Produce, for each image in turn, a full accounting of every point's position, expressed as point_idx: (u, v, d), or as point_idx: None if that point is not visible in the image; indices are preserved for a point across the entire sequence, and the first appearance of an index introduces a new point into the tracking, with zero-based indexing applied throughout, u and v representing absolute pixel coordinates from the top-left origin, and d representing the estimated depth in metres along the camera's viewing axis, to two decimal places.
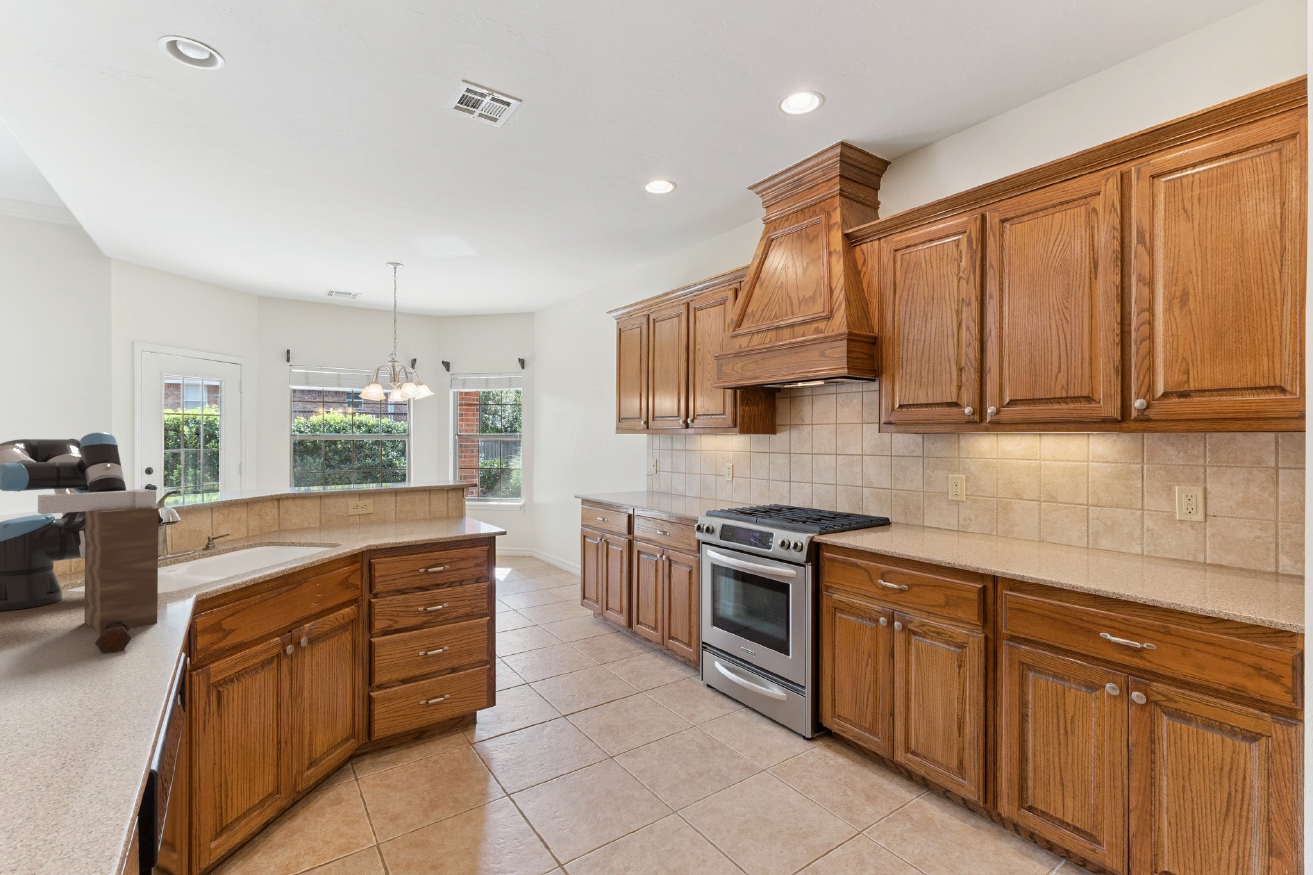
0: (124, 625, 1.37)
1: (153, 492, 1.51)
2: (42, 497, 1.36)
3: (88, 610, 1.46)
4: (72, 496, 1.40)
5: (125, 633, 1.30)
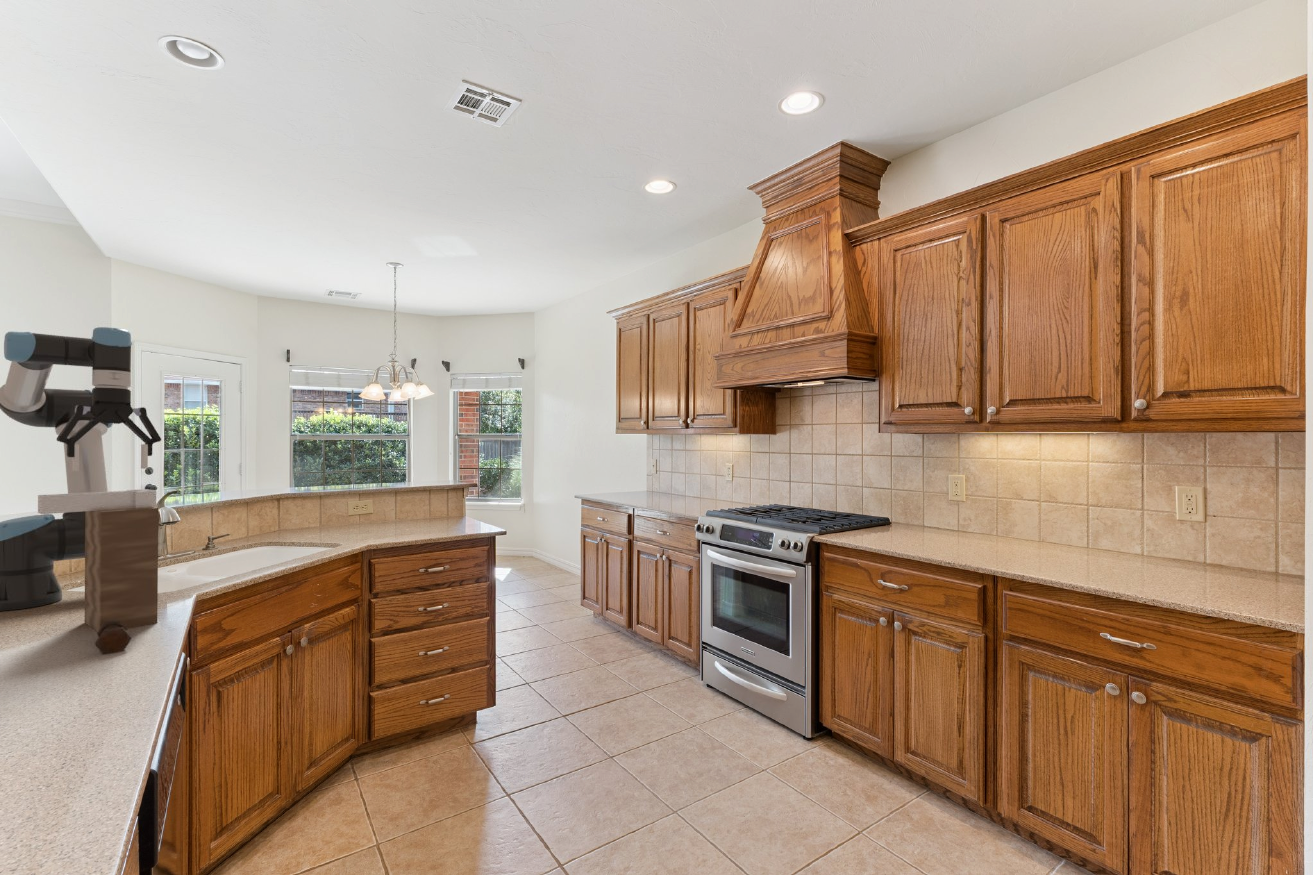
0: (121, 626, 1.36)
1: (153, 492, 1.51)
2: (42, 497, 1.36)
3: (88, 610, 1.46)
4: (72, 496, 1.40)
5: (125, 634, 1.29)
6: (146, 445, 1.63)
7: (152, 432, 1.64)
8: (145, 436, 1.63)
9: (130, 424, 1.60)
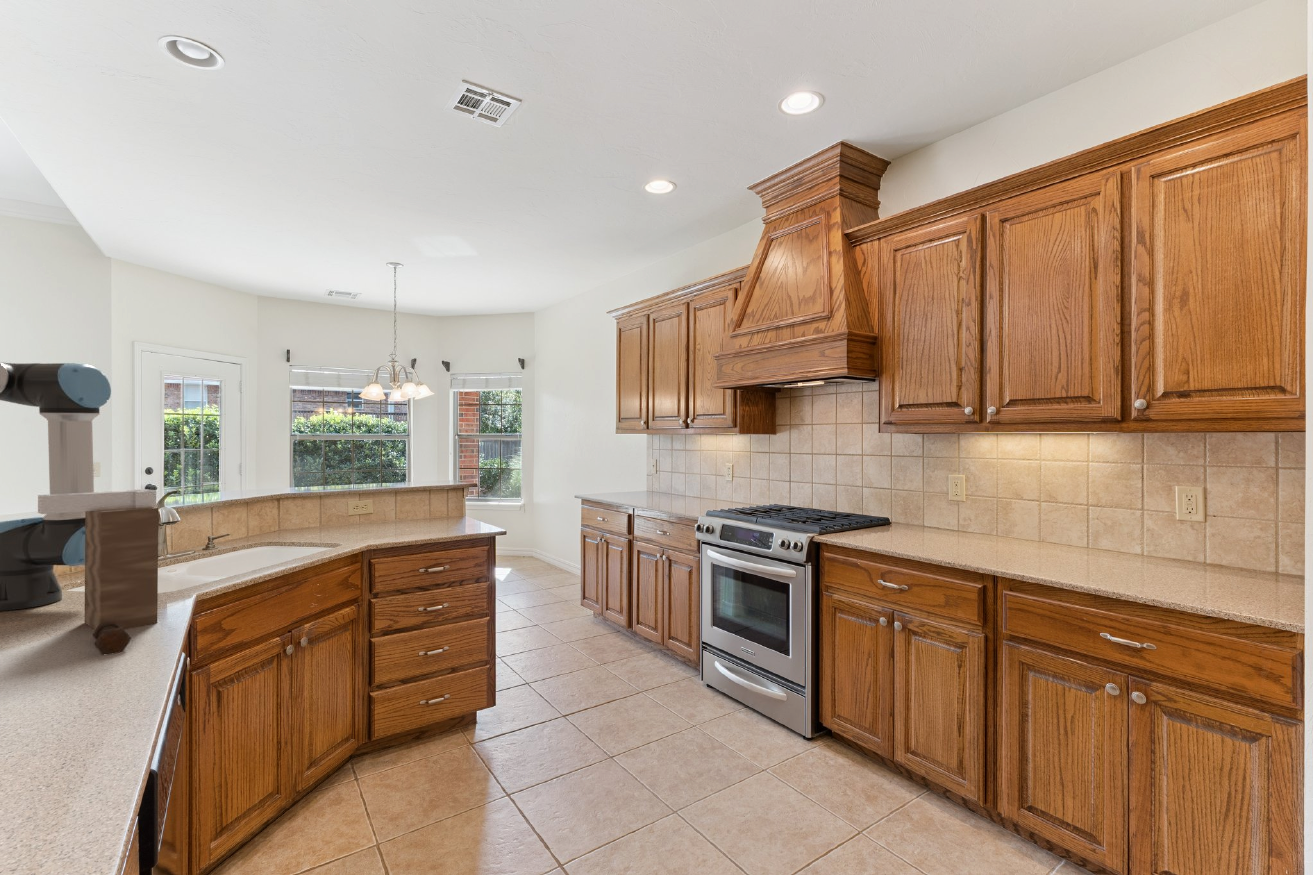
0: (117, 627, 1.36)
1: (153, 492, 1.51)
2: (42, 497, 1.36)
3: (88, 610, 1.46)
4: (72, 496, 1.40)
5: (125, 634, 1.29)
6: None
7: None
8: None
9: None
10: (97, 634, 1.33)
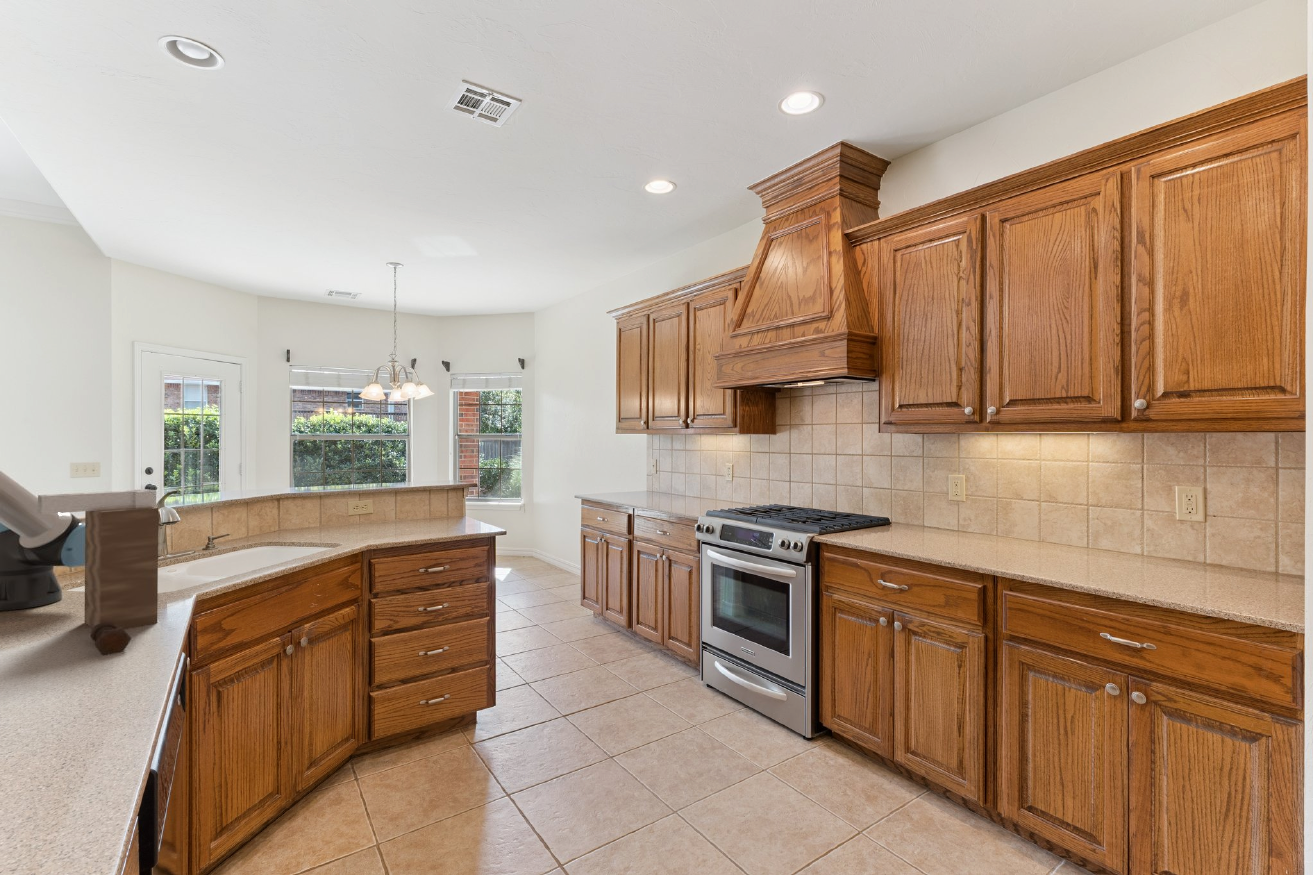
0: (114, 627, 1.35)
1: (153, 492, 1.51)
2: (42, 497, 1.36)
3: (88, 610, 1.46)
4: (72, 496, 1.40)
5: (125, 634, 1.29)
6: None
7: None
8: None
9: None
10: (95, 635, 1.33)
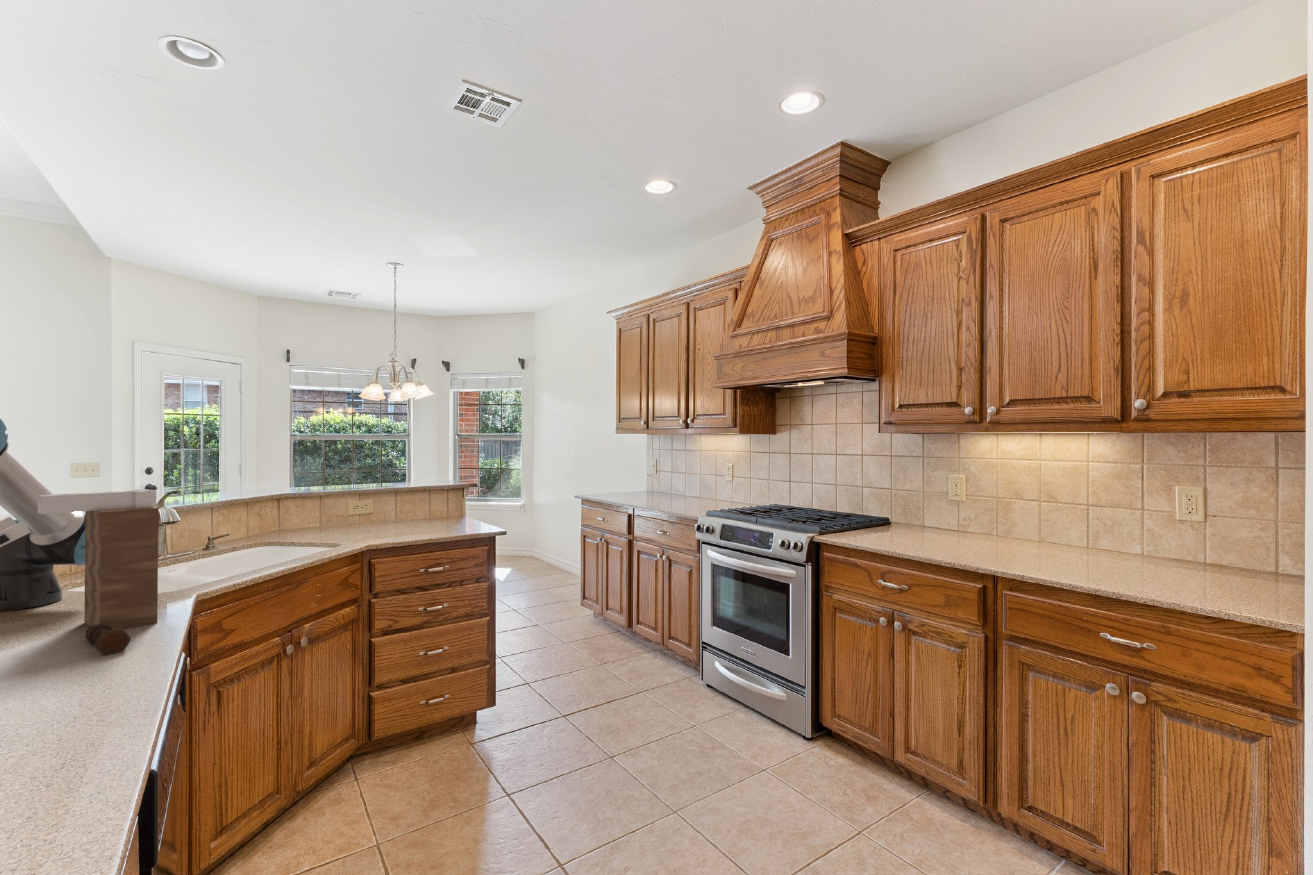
0: (110, 628, 1.34)
1: (153, 492, 1.51)
2: (42, 497, 1.36)
3: (88, 610, 1.46)
4: (72, 496, 1.40)
5: (125, 634, 1.29)
6: None
7: None
8: None
9: None
10: (90, 636, 1.32)
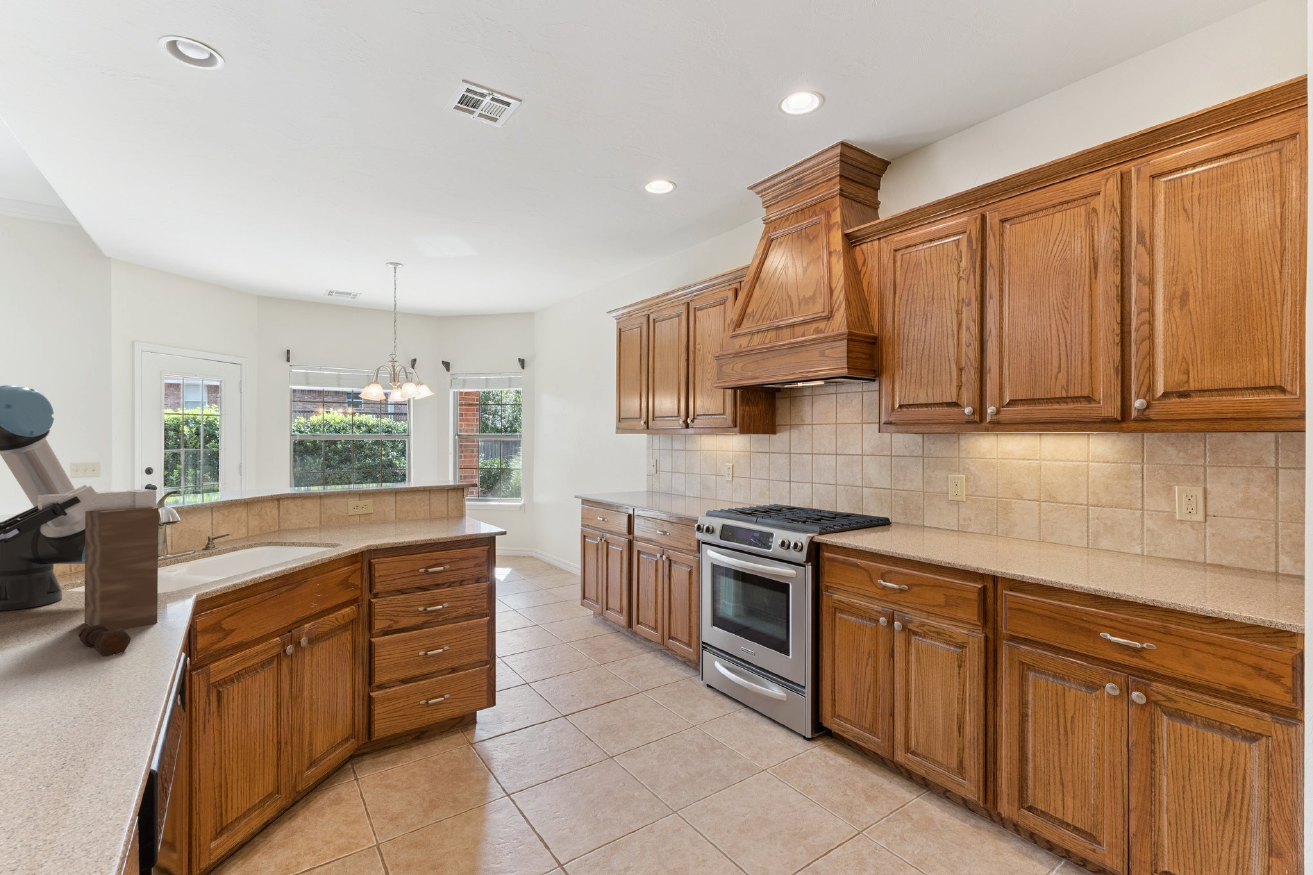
0: (106, 630, 1.33)
1: (153, 492, 1.51)
2: (42, 497, 1.36)
3: (88, 610, 1.46)
4: None
5: (125, 635, 1.29)
6: (66, 510, 1.39)
7: None
8: None
9: None
10: (86, 638, 1.31)
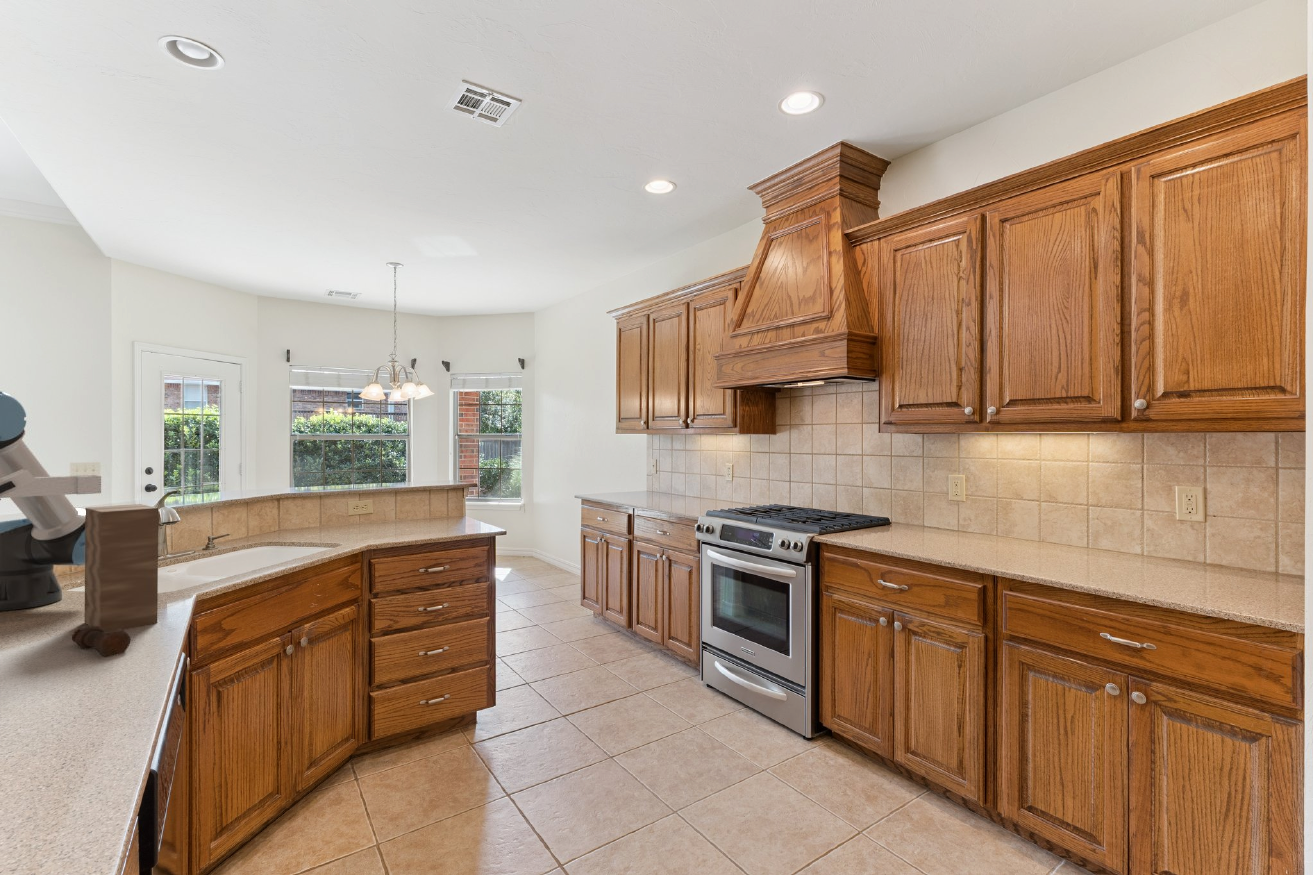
0: (101, 631, 1.32)
1: (98, 477, 1.42)
2: None
3: (88, 610, 1.46)
4: None
5: (126, 635, 1.29)
6: None
7: None
8: None
9: None
10: (82, 639, 1.29)
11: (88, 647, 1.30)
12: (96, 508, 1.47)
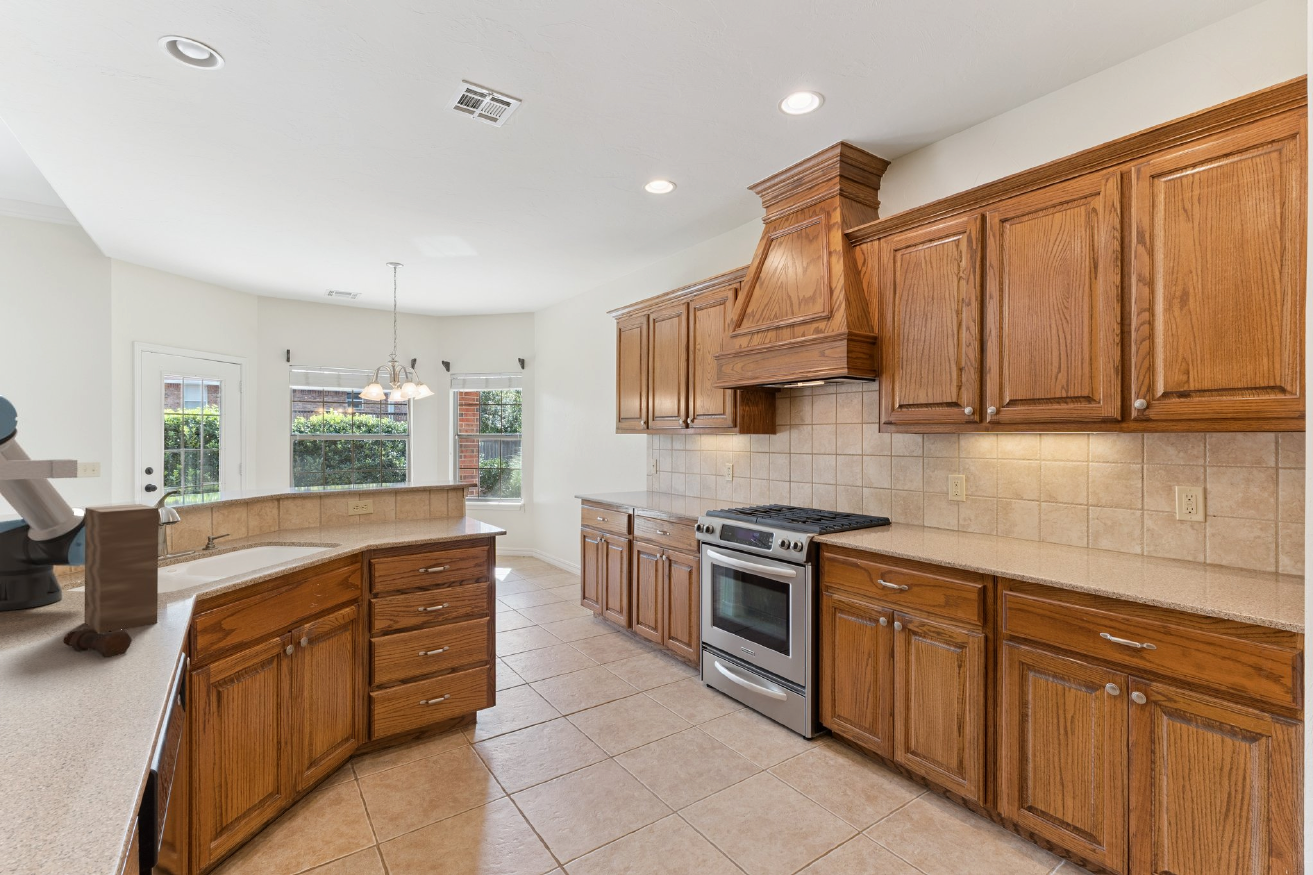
0: (96, 633, 1.31)
1: (74, 461, 1.39)
2: None
3: (88, 610, 1.46)
4: None
5: (127, 635, 1.29)
6: None
7: None
8: None
9: None
10: (77, 642, 1.28)
11: (83, 649, 1.29)
12: (96, 508, 1.47)
